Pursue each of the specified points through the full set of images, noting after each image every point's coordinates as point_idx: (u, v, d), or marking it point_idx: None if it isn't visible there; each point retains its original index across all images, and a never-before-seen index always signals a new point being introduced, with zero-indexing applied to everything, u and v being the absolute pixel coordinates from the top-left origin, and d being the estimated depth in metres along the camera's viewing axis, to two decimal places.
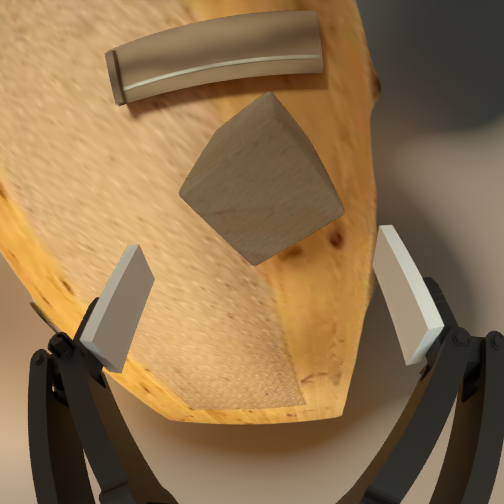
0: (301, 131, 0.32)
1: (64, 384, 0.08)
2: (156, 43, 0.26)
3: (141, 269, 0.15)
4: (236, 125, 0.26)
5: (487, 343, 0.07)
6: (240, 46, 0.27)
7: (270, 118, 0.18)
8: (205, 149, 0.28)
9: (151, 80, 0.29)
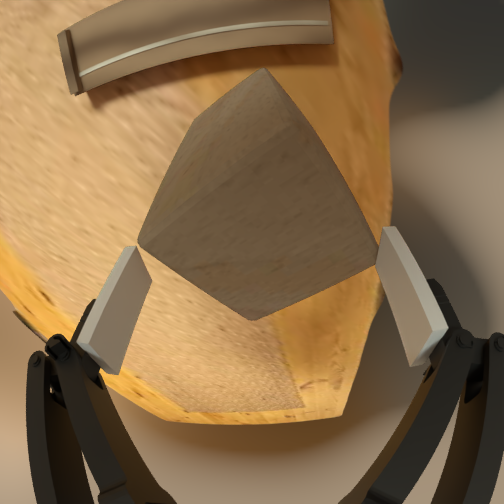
0: (307, 121, 0.24)
1: (61, 386, 0.08)
2: (117, 15, 0.17)
3: (138, 271, 0.14)
4: (220, 119, 0.18)
5: (490, 345, 0.07)
6: (223, 10, 0.18)
7: (283, 122, 0.10)
8: (178, 153, 0.20)
9: (111, 60, 0.20)
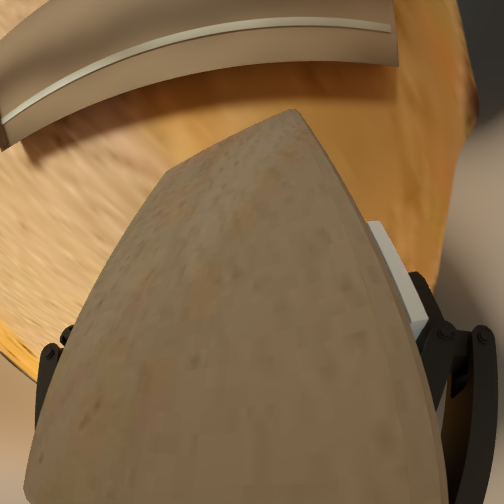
0: None
1: None
2: (39, 26, 0.08)
3: None
4: (191, 237, 0.08)
5: (474, 338, 0.07)
6: None
7: None
8: (107, 268, 0.10)
9: (33, 99, 0.11)
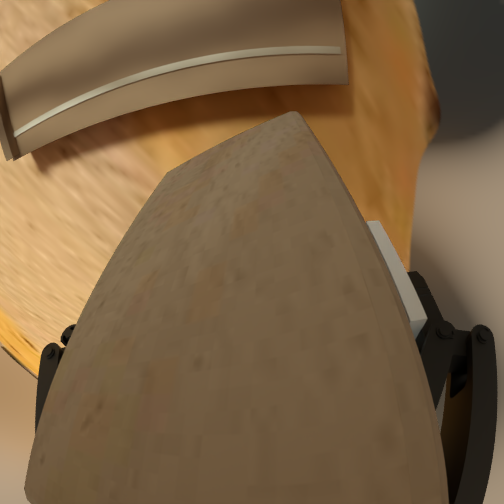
0: None
1: None
2: (44, 54, 0.11)
3: None
4: (193, 239, 0.08)
5: (473, 337, 0.07)
6: (176, 35, 0.12)
7: None
8: (108, 269, 0.10)
9: (42, 117, 0.15)
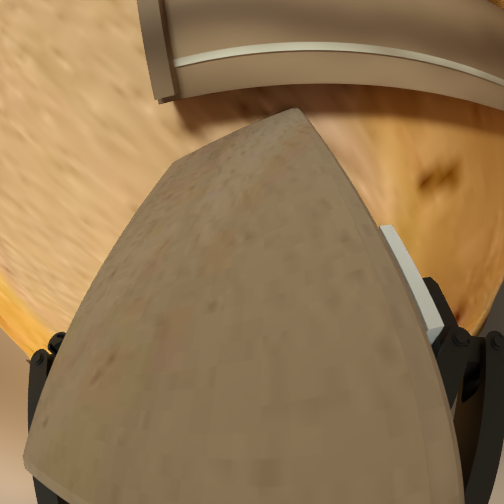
0: None
1: None
2: None
3: None
4: (204, 212, 0.09)
5: (487, 343, 0.07)
6: (445, 34, 0.09)
7: None
8: (118, 245, 0.11)
9: (251, 49, 0.12)
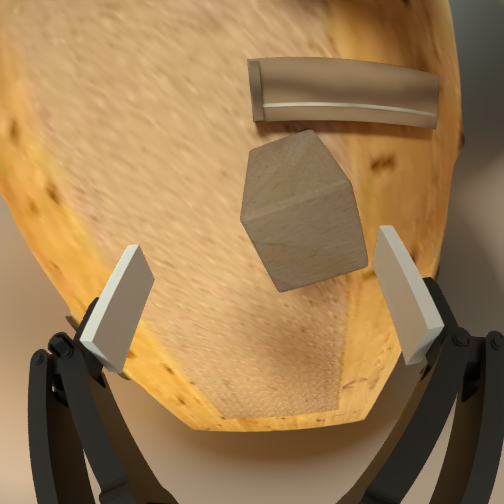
0: None
1: (64, 384, 0.08)
2: (306, 68, 0.29)
3: (141, 269, 0.15)
4: (289, 161, 0.29)
5: (487, 343, 0.07)
6: (381, 93, 0.30)
7: (344, 180, 0.21)
8: (251, 172, 0.31)
9: (295, 104, 0.32)
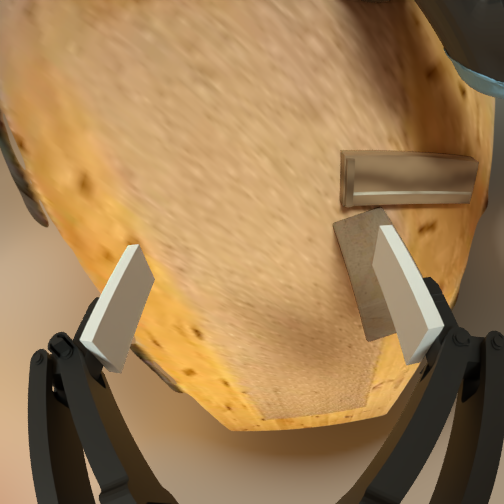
0: None
1: (64, 384, 0.08)
2: (388, 164, 0.39)
3: (141, 269, 0.15)
4: None
5: (487, 343, 0.07)
6: (436, 182, 0.39)
7: None
8: (349, 257, 0.41)
9: (376, 192, 0.42)
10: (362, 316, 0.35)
